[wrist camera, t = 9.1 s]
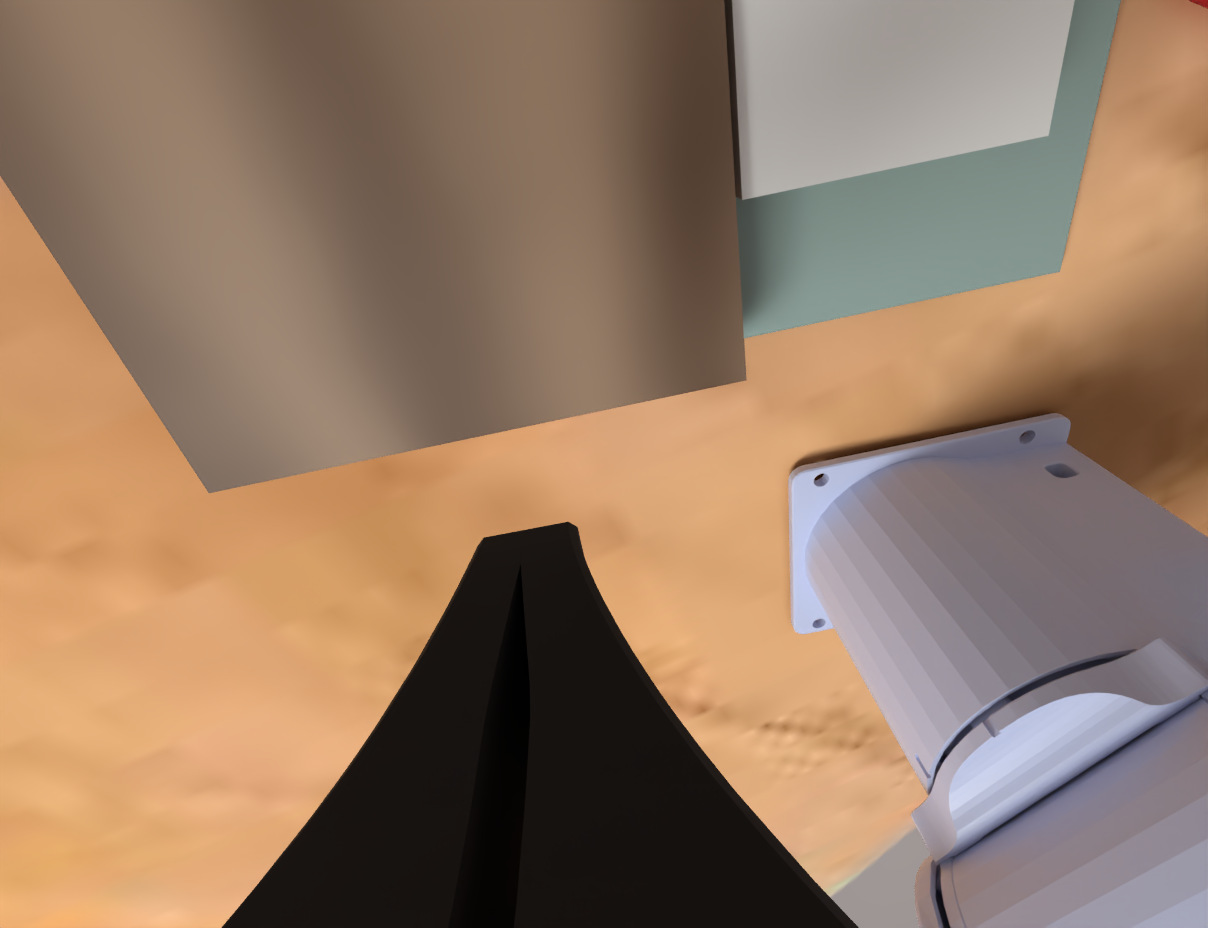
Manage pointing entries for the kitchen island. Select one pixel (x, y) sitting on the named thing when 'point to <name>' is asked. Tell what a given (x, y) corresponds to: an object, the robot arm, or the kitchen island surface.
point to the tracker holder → (1201, 2)
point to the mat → (927, 214)
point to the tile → (884, 83)
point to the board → (382, 211)
